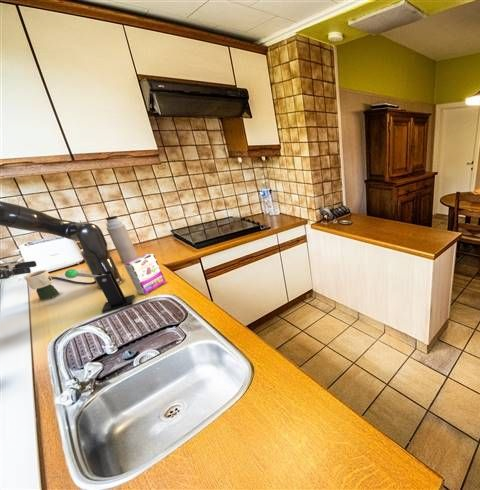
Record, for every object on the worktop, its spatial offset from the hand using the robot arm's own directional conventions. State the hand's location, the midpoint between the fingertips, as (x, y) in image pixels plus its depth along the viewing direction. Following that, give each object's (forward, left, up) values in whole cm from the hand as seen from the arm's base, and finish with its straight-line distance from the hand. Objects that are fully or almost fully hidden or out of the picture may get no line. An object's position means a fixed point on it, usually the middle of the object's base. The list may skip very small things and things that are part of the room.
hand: (33, 266), depth 100 cm
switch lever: (+5, +10, -10) cm, 15 cm away
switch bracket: (+8, +15, -25) cm, 30 cm away
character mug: (-34, +5, -26) cm, 43 cm away
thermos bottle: (-44, +43, -26) cm, 66 cm away
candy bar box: (+7, +29, -26) cm, 39 cm away
